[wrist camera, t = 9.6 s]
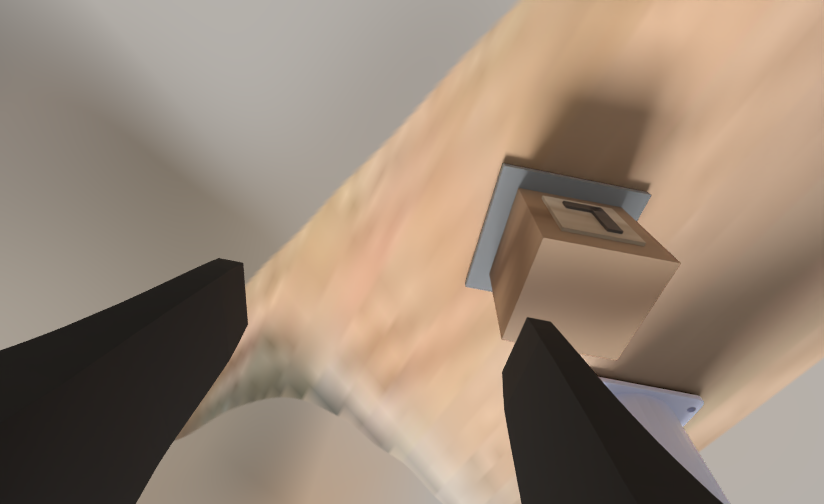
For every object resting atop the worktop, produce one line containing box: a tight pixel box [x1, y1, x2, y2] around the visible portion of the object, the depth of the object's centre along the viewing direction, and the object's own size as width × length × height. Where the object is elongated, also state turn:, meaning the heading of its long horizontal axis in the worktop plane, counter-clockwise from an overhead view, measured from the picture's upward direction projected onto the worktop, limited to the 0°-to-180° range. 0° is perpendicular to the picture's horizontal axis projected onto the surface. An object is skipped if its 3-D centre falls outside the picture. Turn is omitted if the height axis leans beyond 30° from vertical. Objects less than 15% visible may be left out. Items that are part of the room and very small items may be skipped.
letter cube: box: [489, 188, 681, 361], centre depth 16 cm, size 5×5×5 cm
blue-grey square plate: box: [465, 163, 651, 292], centre depth 19 cm, size 7×7×1 cm
